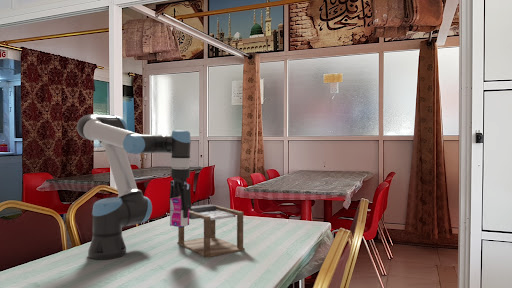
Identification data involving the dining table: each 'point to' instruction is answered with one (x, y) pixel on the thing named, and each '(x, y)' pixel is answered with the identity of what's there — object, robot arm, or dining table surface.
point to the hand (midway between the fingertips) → (179, 223)
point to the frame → (213, 236)
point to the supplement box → (176, 212)
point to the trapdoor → (210, 212)
